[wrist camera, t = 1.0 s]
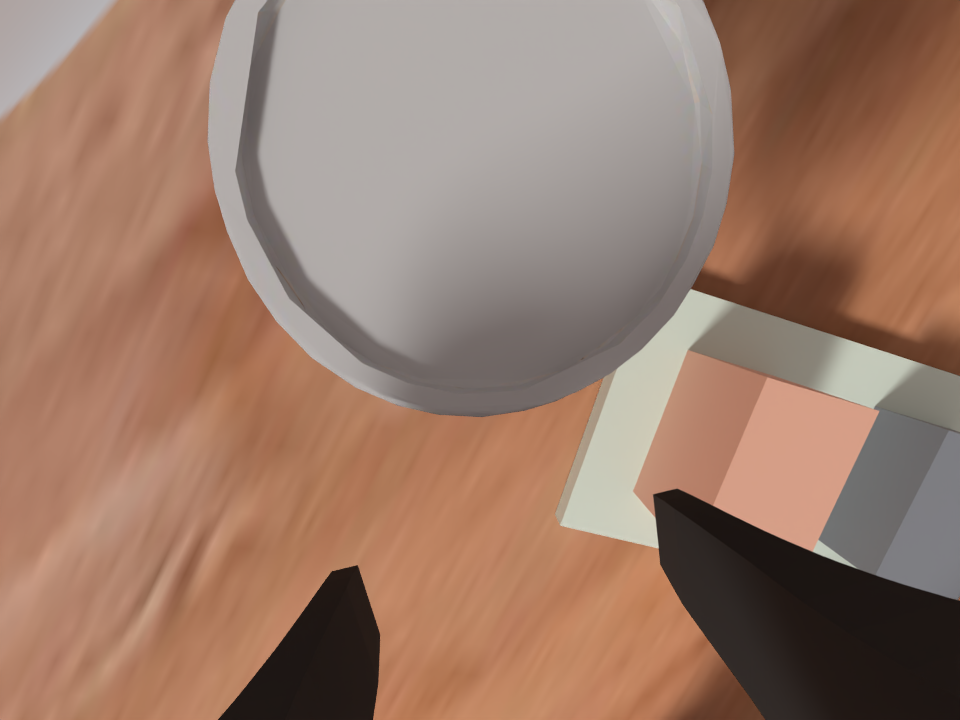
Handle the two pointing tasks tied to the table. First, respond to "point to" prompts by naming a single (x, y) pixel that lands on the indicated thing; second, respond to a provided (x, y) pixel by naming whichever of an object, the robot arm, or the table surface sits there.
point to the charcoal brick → (902, 506)
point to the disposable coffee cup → (471, 185)
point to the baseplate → (742, 341)
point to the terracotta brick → (755, 447)
